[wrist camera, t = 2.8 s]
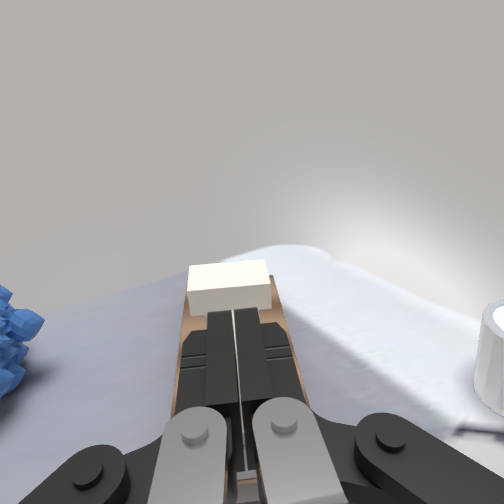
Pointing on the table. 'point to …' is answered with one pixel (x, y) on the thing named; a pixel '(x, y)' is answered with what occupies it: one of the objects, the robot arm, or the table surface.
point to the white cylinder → (491, 358)
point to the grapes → (14, 340)
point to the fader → (229, 291)
